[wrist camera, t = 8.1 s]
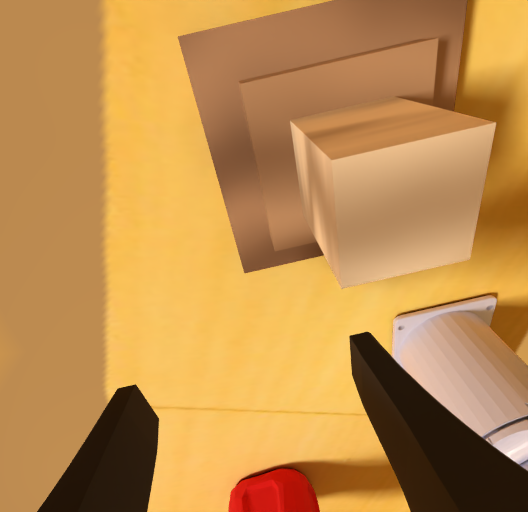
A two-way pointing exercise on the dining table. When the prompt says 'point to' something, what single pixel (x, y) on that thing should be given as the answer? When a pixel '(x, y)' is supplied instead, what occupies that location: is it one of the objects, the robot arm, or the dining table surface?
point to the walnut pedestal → (307, 98)
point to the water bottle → (274, 493)
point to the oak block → (391, 186)
